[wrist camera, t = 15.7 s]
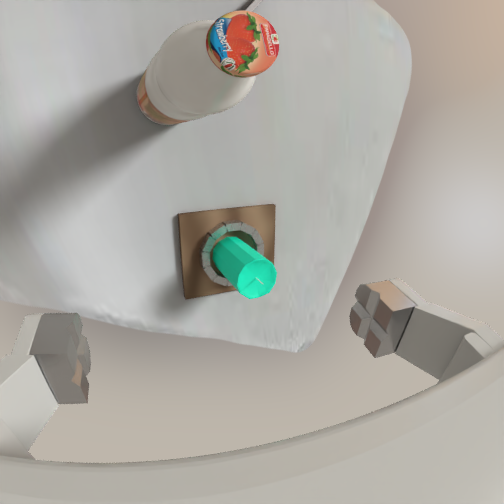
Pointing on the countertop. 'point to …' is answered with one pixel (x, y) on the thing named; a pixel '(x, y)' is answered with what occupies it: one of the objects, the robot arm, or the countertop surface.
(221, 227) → the ring collar
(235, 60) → the fruit juice
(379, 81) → the countertop surface
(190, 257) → the ring board
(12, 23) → the countertop surface
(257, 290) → the candle
